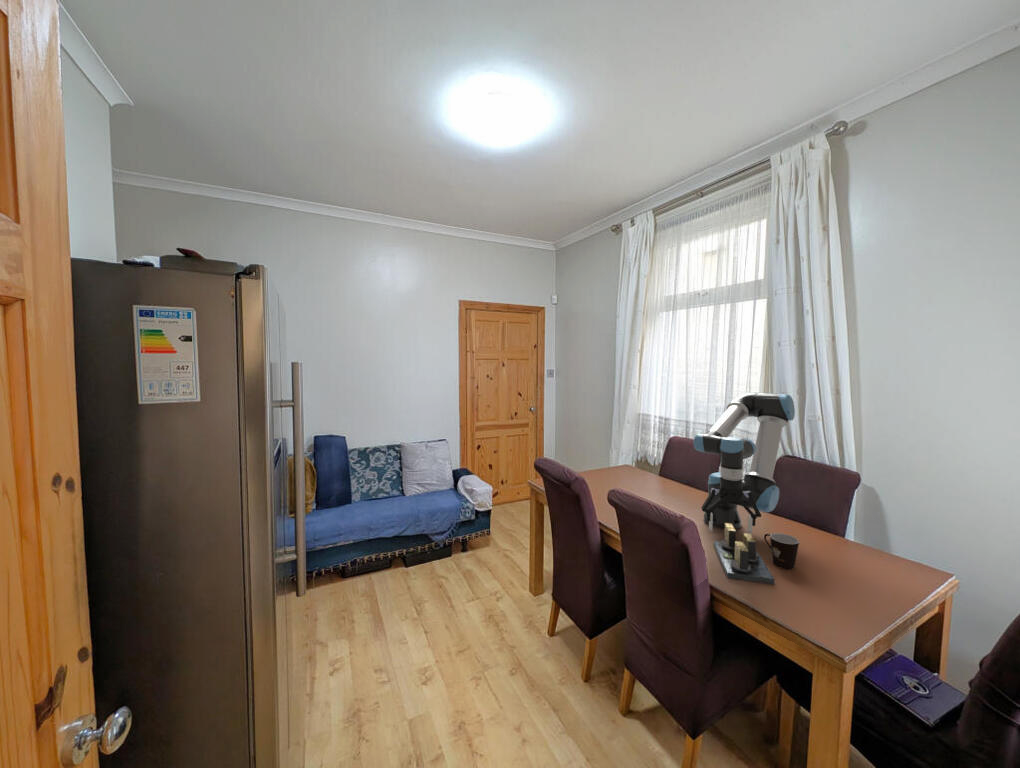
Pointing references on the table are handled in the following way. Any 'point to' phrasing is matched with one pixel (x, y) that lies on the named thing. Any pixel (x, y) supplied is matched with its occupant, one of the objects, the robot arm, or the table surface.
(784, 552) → the coffee mug
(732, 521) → the robot arm
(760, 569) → the levelling plate
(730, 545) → the tan block-handled knob
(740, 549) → the tan bar handle
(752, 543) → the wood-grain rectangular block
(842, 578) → the table surface
